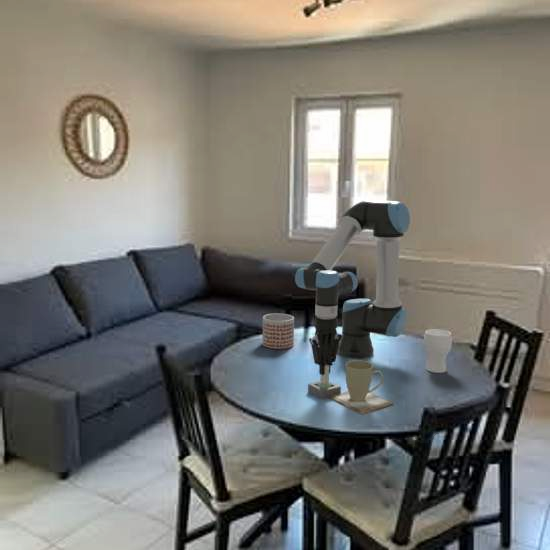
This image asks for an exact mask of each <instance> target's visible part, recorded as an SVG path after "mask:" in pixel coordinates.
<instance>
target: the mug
mask: <svg viewBox="0 0 550 550" xmlns="http://www.w3.org/2000/svg"><path fill="white" fill-rule="evenodd" d="M373 365H374V364H373V363H371V362H369V361H366V360H361V359H359V360H358V359H355V360H353V359H352V360H349V361H346V362H345V366H344V367H345V381H346V382H345V383H346V387H347V391H349V395H350V398H351V400H353V401H357V402H361V401H364V400H365V398H366V396H367V393H373V392H374V391H375V390H376V389H378V388H379V387H380V386H381V385H382V384H383V380H384V375H383V372H382V371H381V370H379V369H377V370H373V368H374V366H373ZM376 373H379V374H380V378H381V379H380V382H379V383H377V385H376V386H375V387H372V388H371V384H372V378H373V375H375V374H376ZM370 388H371V389H370Z"/></svg>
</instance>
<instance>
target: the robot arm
mask: <svg viewBox="0 0 550 550" xmlns="http://www.w3.org/2000/svg"><path fill="white" fill-rule="evenodd" d="M409 211H410V210H409V209H408V207H407V205H406V204H405V203H403V202H401V201H396V200H373V199H366V200H363V201H360V202H358V203H356V204H354V205H353V206H351V207H350V208H349V209H347V210H346V211H345V212H344V213H343V215H342V216H341V217H340V218H339V220H338V226H337V227H336V228H335V230H334V231H333V232H332V233H331V236H330V237H329V238H328V239H327V241H326V242H325V244H324V245H323V246H322V248H321V249H320V251H319V252H317V253H318V254H316V256H315V257H314V259H313V260H312V261H311V263H310V264H309V266H308V267H301V268H299V269H297V270H296V273H295V275H294V277H295V278H294V281H295V284H296V286H297V287H298V288H301V289H303V290H308V291H309V290H310V291H315V306H314V308H315V313H314V315H315V318H314V327H315V332H314V336H313V337H312V338H311V337H310V338H309V339H308V341H309V343H310V345H311V346H310V347H311V351H312V354H313V356H312V357H313V361H314V364H316V365H318V367H319V369H318V370H319V371H318V373H319V375H320V380H319V381H320V382H321V383H323V384H329V381H330V373H331V366H333V365H334V363H335V362H337V361H336V360H337V356H338V355H339V356H341V357H344V358H347V359H355V360H358V359H359V360H361V359H367V358H368V359H369V358H371V357H372V356H374V347H373V343H372V338H371V334H375V335H380V336H385V337H392V338H397V337H399V336H401V335H402V333H403V332H404V330H405V327H406V325H407V321H408V312H407V310H406V309H405V308H403V303H402V302H401V300H400V299H399V276H400V273H399V272H400V241H401V239H402V238H403V237H404V235H405V234H404V233H406V232H407V231H408V230H409V228H410V224H411V223H410V222H411V217H410V216H411V215H410V212H409ZM366 230H367V231H368V230H370V231H372V236H373V238H374V239H375V240H376V289H375V291H376V298H375V299H374V300H373V301H372V299H369V298H355V299H354V298H353V299H348V300H346V301H344V302H343V306H342V311H341V312H342V327H341V330H342V332H341V333H338V331H337V330H338V329H337V328H338V317H337V316H338V313H339V312H338V309H339V297H342V296H344V295H349V294H351V293H352V292H355V291H356V289H357V287H358V283H359V282H358V278H357V275H355V274H354V273H353V272H351V271H343V272H338V271H336V270H333V268H334V266H335V265H336V264H337V263H338V261H339V260H340V258H341V257H342V255H343V254H344V252H346V250H347V248H348V246H349V245H350V243H351V242H352V241H353V239H354V238H355V237H357V236H359V235H360V234H361V232H362V231H366Z"/></svg>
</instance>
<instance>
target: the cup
mask: <svg viewBox="0 0 550 550" xmlns="http://www.w3.org/2000/svg"><path fill="white" fill-rule="evenodd" d="M424 332H425V333H424V336H423V342H422V343H423V348H424V350H425V353H426V356H427V357H426V359H427V361H426V365H425V370H426V371H428V372H429V373H430V372H431V373H436V374H437V373H439V374H440V373H441V374H442V373H445V372H446V371H447V364H446V360H447V356H448V354H449V353H450V351H451V348H452V345H453V336H452V333H451V332H450V331H448V330H444V329H438V328H437V329H436V328H432V329H426V331H424Z"/></svg>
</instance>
